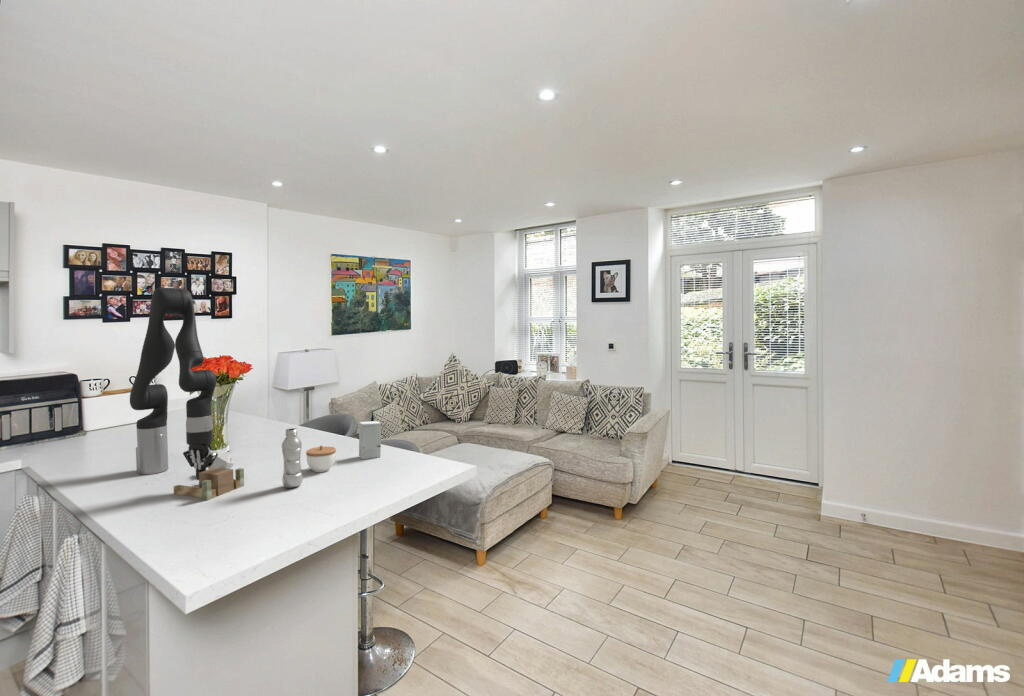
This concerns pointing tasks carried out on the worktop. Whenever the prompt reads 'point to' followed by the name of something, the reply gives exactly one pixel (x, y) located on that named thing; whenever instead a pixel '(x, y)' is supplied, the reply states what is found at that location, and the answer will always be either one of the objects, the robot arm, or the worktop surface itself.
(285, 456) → the plastic bottle
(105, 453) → the worktop surface
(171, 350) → the robot arm
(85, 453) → the worktop surface
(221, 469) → the block
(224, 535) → the worktop surface
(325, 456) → the lidded jar
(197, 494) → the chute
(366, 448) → the skincare box
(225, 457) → the die
